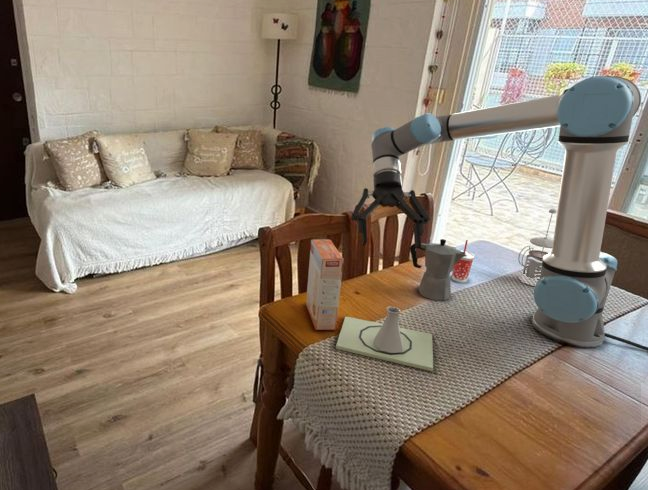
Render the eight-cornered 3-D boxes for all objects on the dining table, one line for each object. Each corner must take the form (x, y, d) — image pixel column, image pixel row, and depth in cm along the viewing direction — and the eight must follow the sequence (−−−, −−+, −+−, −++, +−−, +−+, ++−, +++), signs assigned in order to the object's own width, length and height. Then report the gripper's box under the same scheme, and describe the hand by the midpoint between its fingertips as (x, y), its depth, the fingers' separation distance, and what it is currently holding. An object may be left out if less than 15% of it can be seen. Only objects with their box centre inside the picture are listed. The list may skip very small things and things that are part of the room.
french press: (560, 288, 140) (581, 214, 132) (523, 288, 140) (542, 213, 132) (540, 275, 149) (558, 204, 141) (505, 274, 149) (521, 204, 141)
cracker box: (337, 331, 116) (344, 258, 109) (314, 331, 116) (320, 258, 109) (325, 304, 129) (331, 238, 122) (305, 304, 129) (310, 238, 122)
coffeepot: (458, 292, 137) (469, 238, 131) (456, 305, 129) (467, 249, 123) (406, 280, 144) (414, 229, 138) (401, 292, 136) (409, 238, 131)
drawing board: (431, 337, 113) (432, 333, 113) (432, 371, 100) (433, 367, 100) (345, 319, 122) (345, 315, 121) (335, 348, 108) (336, 345, 108)
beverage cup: (450, 273, 150) (458, 235, 145) (471, 278, 146) (478, 239, 142) (447, 280, 145) (454, 240, 140) (468, 285, 141) (476, 245, 137)
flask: (399, 338, 111) (404, 303, 108) (407, 355, 104) (413, 318, 101) (370, 336, 112) (374, 301, 109) (376, 353, 105) (381, 316, 102)
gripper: (429, 185, 127) (436, 253, 117) (340, 182, 130) (341, 247, 121) (437, 171, 120) (445, 241, 111) (344, 168, 124) (344, 236, 114)
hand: (391, 245), depth 116 cm, fingers open, 13 cm apart
